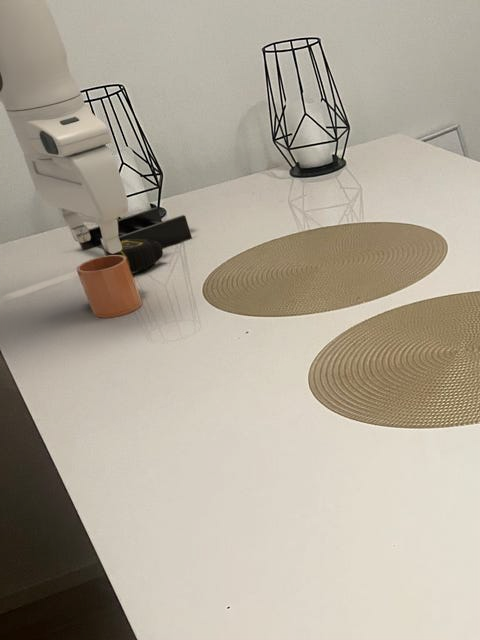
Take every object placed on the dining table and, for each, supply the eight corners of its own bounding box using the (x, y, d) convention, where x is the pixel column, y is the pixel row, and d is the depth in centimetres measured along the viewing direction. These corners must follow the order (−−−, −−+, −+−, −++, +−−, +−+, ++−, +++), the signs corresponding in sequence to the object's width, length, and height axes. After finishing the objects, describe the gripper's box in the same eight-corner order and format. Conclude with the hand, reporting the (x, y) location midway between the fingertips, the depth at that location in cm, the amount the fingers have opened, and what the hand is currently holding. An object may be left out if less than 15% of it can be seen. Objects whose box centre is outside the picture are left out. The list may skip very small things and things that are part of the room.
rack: (111, 266, 144) (103, 243, 142) (84, 255, 150) (75, 233, 148) (192, 238, 150) (185, 215, 148) (162, 229, 156) (155, 207, 154)
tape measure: (169, 262, 142) (160, 236, 139) (137, 278, 137) (128, 252, 135) (135, 260, 145) (126, 234, 142) (103, 276, 140) (93, 250, 138)
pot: (106, 321, 125) (89, 275, 121) (86, 311, 129) (68, 267, 125) (150, 305, 128) (134, 259, 124) (128, 296, 132) (113, 251, 128)
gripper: (-3, 129, 119) (44, 242, 128) (62, 142, 107) (110, 266, 116) (44, 116, 122) (87, 227, 131) (113, 127, 110) (156, 249, 118)
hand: (98, 246), depth 123 cm, fingers open, 8 cm apart
